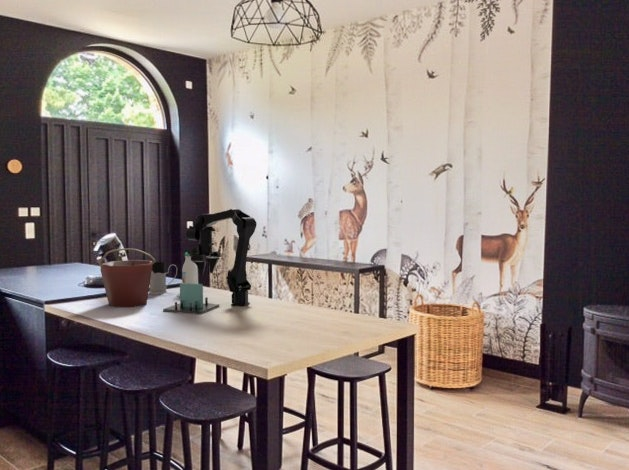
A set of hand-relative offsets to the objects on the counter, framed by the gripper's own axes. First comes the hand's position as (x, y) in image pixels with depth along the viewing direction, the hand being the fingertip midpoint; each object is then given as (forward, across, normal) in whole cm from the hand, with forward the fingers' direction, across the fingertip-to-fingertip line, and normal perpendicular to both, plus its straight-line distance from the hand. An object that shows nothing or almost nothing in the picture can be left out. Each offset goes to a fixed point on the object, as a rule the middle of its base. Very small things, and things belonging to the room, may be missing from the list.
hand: (206, 274), depth 270 cm
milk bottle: (+12, -16, -18) cm, 27 cm away
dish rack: (+12, +21, +4) cm, 25 cm away
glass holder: (+12, -12, -31) cm, 35 cm away
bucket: (+12, +18, -30) cm, 37 cm away
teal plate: (+11, +21, +4) cm, 24 cm away
